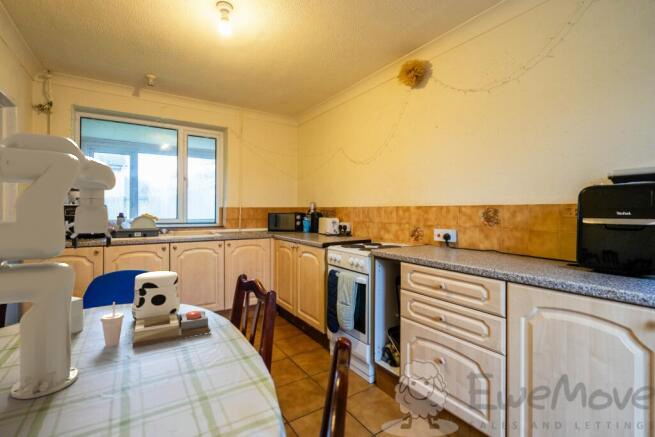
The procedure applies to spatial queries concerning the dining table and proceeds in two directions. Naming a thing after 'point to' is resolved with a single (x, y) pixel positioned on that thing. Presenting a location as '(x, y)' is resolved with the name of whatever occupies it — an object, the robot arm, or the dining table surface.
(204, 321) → the wooden tray with button
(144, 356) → the dining table surface
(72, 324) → the skincare box
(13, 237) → the robot arm
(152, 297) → the milk container
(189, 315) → the button
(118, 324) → the smoothie
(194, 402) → the dining table surface
